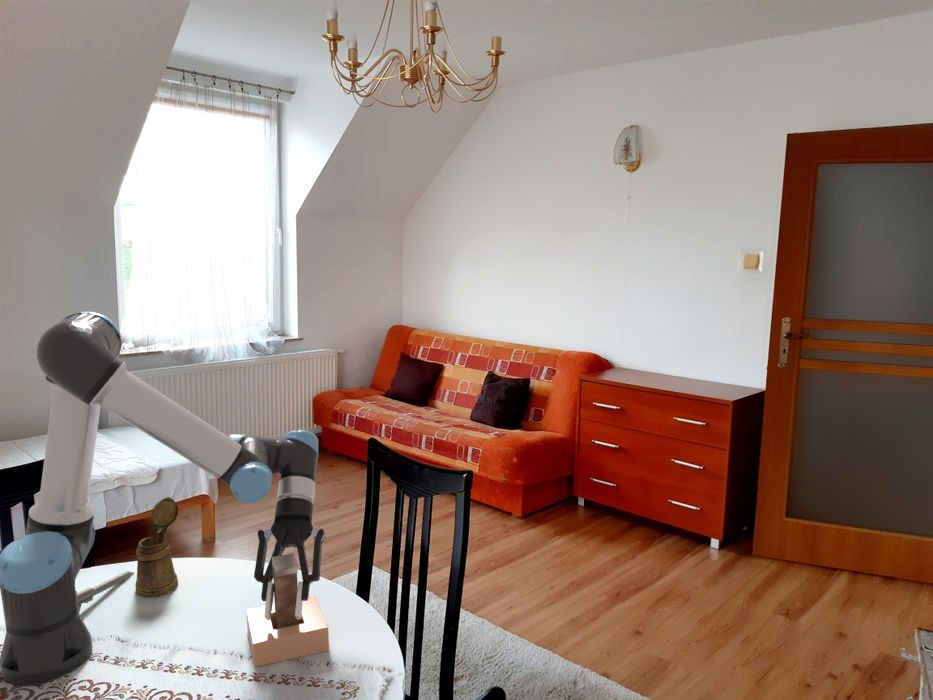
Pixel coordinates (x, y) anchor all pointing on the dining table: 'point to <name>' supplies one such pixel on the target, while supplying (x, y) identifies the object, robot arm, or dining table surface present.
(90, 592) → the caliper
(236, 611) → the dining table surface
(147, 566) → the wooden mug
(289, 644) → the terracotta holder
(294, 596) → the silver-capped wooden peg
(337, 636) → the dining table surface
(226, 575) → the dining table surface
